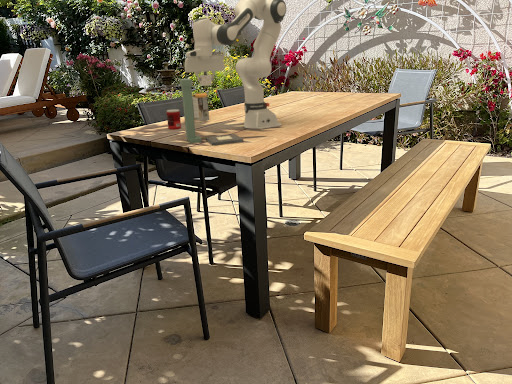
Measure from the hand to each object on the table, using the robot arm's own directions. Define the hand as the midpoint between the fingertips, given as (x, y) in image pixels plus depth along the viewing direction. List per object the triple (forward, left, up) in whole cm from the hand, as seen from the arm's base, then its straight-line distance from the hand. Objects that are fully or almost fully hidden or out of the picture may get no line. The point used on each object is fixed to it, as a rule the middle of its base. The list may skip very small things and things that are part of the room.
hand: (205, 80), depth 211 cm
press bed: (-4, +15, -29) cm, 33 cm away
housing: (0, 0, -2) cm, 2 cm away
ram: (+5, +7, -17) cm, 19 cm away
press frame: (+10, +7, -29) cm, 32 cm away
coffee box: (-7, -57, -29) cm, 65 cm away
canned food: (+14, -35, -29) cm, 48 cm away
